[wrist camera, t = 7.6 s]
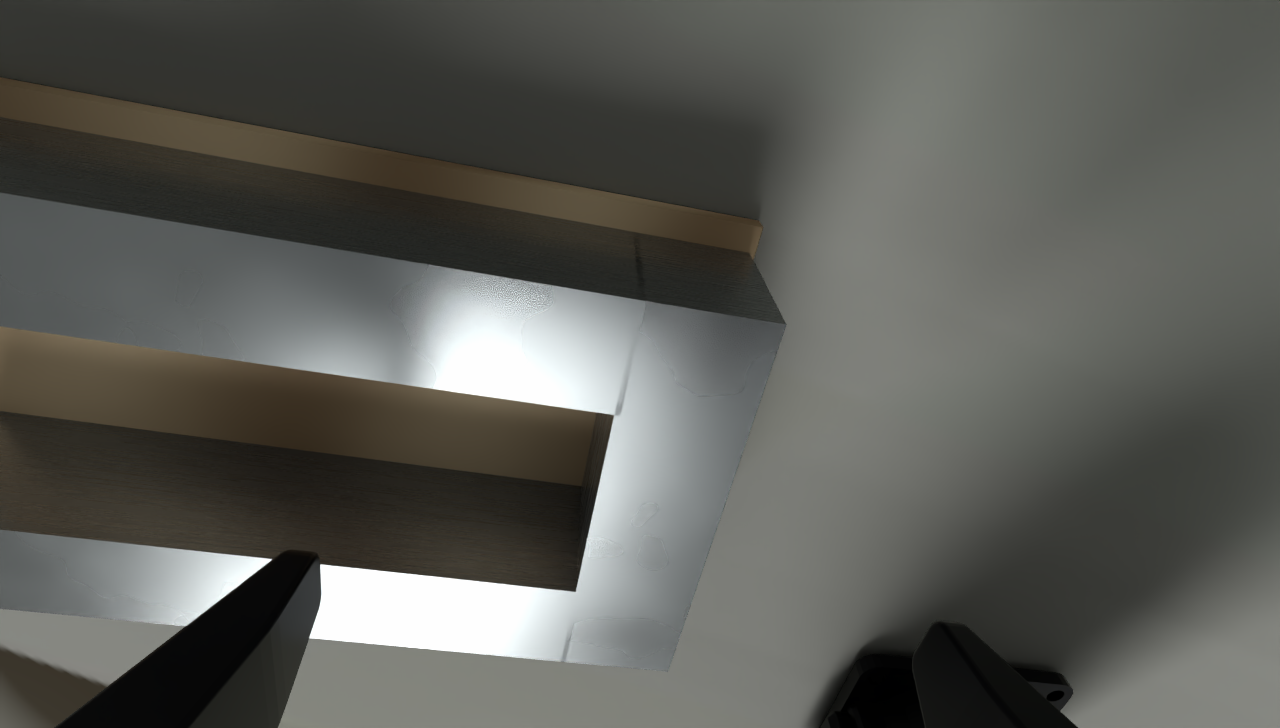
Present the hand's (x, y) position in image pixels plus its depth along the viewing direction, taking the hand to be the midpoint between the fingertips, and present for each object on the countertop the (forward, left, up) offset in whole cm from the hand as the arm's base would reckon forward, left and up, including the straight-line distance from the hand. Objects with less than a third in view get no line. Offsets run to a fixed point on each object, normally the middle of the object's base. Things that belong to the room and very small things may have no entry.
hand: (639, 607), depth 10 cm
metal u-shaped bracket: (+6, 0, -5) cm, 8 cm away
